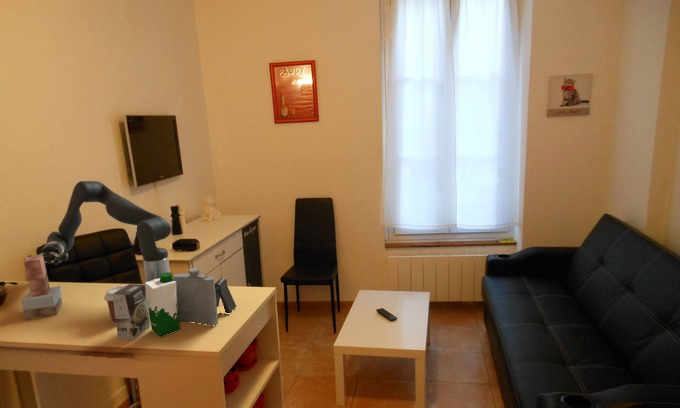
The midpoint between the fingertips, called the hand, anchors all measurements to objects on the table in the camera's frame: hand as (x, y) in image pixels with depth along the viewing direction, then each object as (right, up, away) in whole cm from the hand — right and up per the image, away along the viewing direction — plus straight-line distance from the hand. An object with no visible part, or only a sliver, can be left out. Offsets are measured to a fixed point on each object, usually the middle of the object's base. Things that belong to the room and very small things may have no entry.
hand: (42, 264), depth 168 cm
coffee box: (+45, -21, -19) cm, 54 cm away
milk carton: (+56, -21, -19) cm, 62 cm away
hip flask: (+65, -19, -13) cm, 69 cm away
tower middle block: (+2, -14, -3) cm, 15 cm away
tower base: (+2, -18, -2) cm, 19 cm away
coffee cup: (+36, -19, -10) cm, 42 cm away
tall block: (+2, -10, -4) cm, 11 cm away
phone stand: (+71, -17, -4) cm, 73 cm away
